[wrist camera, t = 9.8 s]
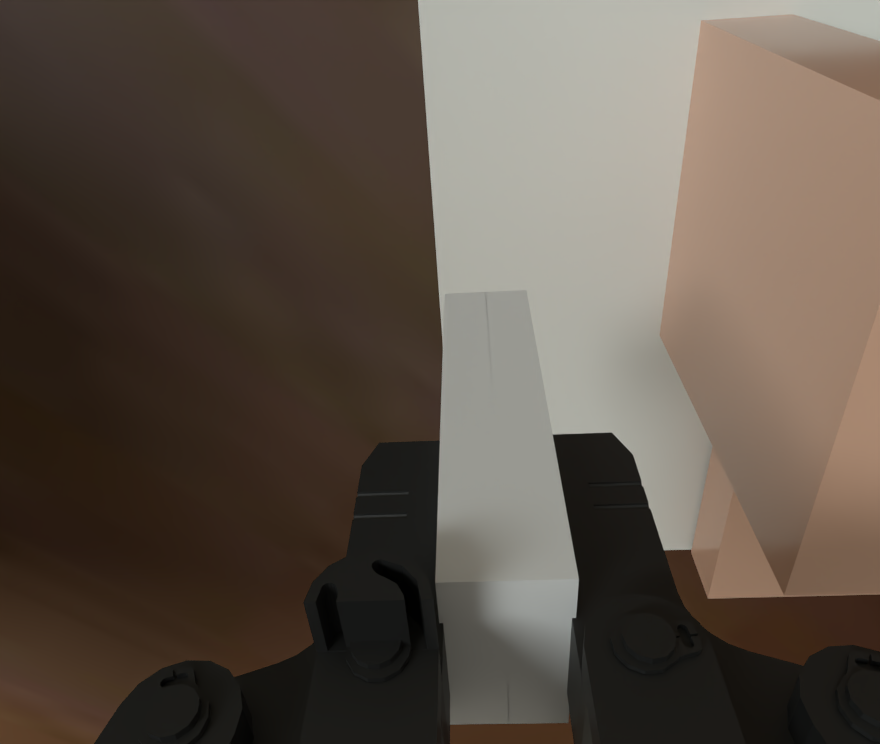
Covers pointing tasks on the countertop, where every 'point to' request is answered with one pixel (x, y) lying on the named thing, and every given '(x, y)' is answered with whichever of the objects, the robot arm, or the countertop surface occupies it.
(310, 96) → the countertop surface
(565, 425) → the stone board
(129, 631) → the countertop surface
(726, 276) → the tile
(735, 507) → the tile
